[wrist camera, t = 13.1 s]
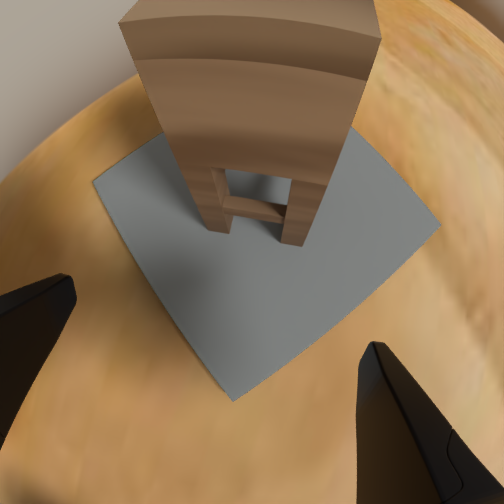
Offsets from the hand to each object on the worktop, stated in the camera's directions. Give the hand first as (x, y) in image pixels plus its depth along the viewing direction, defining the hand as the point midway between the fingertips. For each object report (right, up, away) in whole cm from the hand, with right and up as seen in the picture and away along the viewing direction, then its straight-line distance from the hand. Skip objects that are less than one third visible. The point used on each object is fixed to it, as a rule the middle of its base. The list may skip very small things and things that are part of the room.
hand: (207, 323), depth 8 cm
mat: (+2, +5, +10) cm, 12 cm away
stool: (+2, +5, +9) cm, 11 cm away
